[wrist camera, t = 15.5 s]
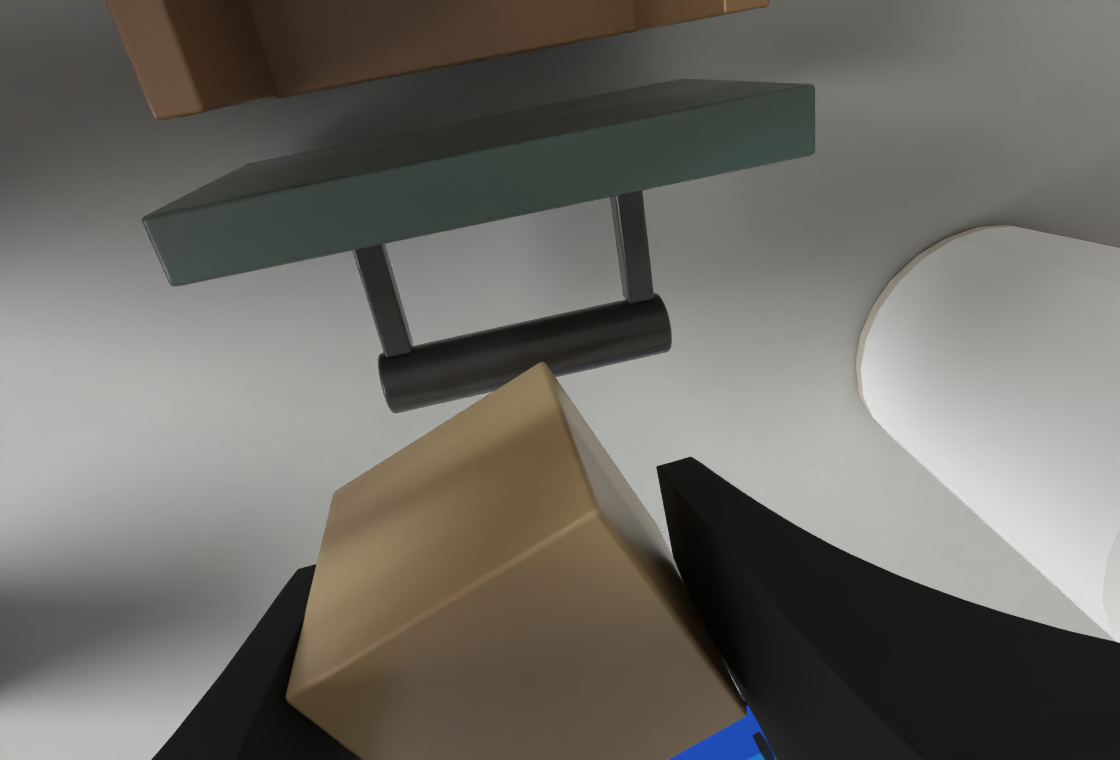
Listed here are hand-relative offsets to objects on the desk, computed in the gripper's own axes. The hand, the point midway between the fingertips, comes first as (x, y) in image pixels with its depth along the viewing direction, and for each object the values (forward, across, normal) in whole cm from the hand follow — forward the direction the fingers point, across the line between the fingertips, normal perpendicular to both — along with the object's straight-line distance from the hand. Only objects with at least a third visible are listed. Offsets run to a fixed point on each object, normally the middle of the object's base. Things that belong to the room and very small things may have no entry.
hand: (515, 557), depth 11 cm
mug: (+10, -17, +4) cm, 20 cm away
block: (+1, 0, 0) cm, 1 cm away
